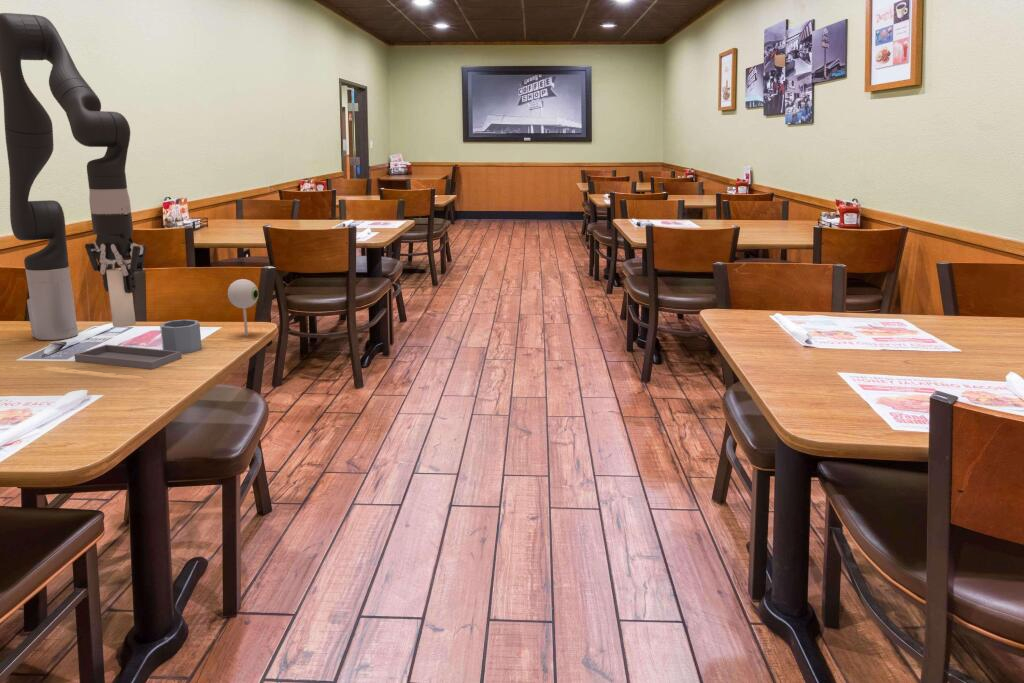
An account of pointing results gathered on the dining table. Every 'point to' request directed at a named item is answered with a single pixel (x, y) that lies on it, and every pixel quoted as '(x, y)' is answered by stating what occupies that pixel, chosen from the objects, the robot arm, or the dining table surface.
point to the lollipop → (243, 296)
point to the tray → (128, 356)
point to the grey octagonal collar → (181, 336)
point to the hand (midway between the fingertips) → (120, 291)
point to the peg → (120, 299)
